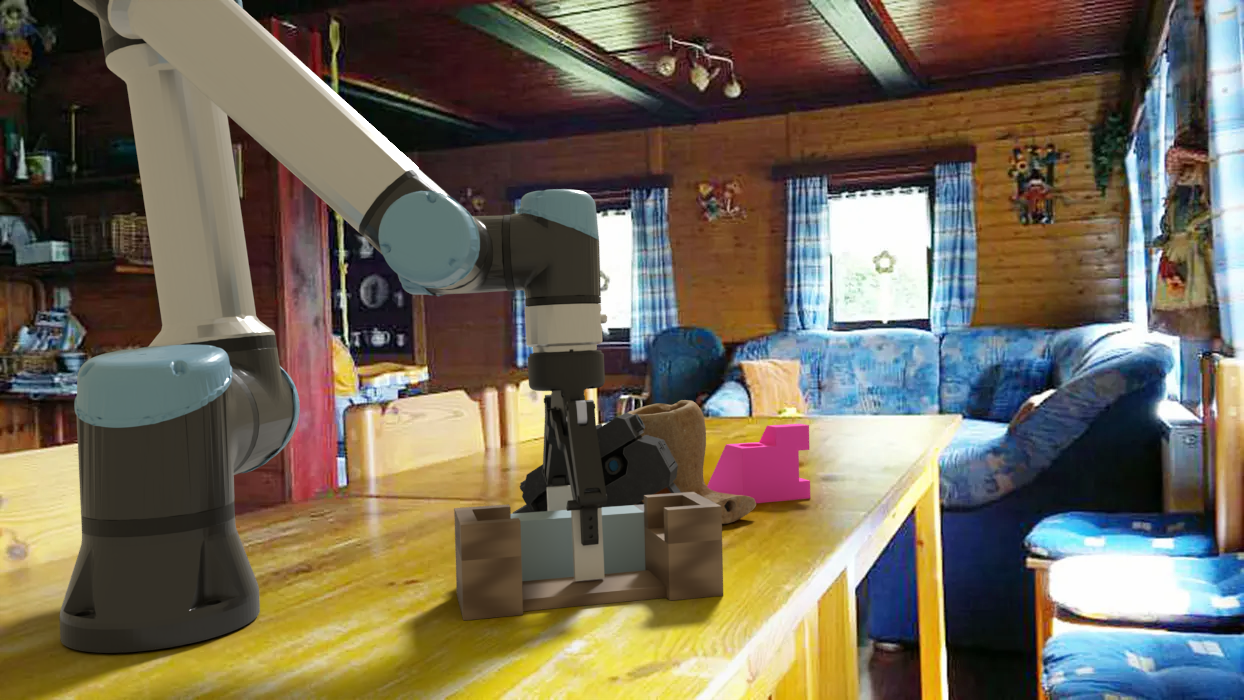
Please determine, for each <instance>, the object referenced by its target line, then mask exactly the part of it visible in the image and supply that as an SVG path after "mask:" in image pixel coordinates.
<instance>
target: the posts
mask: <svg viewBox="0 0 1244 700" xmlns="http://www.w3.org/2000/svg"><path fill="white" fill-rule="evenodd" d="M511 508H512V507H511V506H510V504H499V505H498V504H495V505H483V506H468V507H467V506H466V507H454V509H453V511H454V539H455V541H454V542H455V543H454V544H455V546H454V547H455V551H454V552H455V579H456V581H455V583H456V584H455V585H456V598H457V601H458V606H459V608H460V613H461V617H462V620H463V621H471V620H481V619H493V618H501V617H513V616H523V614H524V612H527V611H528V612H529V611H539V610H540V611H541V610H549V609H550V610H551V609H559V608H561V609H562V608H569V607H570V608H571V607H579V606H580V607H581V606H590V605H591V606H592V605H600V604H601V605H603V604H610V603H611V604H613V603H622V602H623V603H625V602H631V601H632V602H634V601H643V600H655V599H665V598H666V599H667V600H669V601H679V600H689V599H699V598H708V597H709V598H710V597H718V596H719V597H720V596H724V570H723V569H724V563H723V560H724V559H723V524H722V512H721V506H720V505H718V504H716V503H714V502H712V501H710V500H708V499H706V498H704V497H702V496H700V495H698V494H697V493H695V492H684V493H669V494H655V495H644V523H645V564H646V570H644V571H633V572H621V573H610V574H604V576H605V578H600V579H590V580H581V581H575V580H574V577H565V578H553V579H542V580H530V581H522V561H521V524H520V520H519V518H512V519H511V514H512V512H511V511H512V510H511Z"/></svg>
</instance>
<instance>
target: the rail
mask: <svg viewBox="0 0 1244 700" xmlns="http://www.w3.org/2000/svg"><path fill="white" fill-rule="evenodd" d="M512 518H519V520H520V524H521V561H522V581H530V580H542V579H553V578H565V577H574V565H573V542H572V519H571V511H567V510H558V511H544V512H530V513H515V514H512V513H511V519H512ZM602 530H603V553H604V574H610V573H621V572H633V571H644V570H646V564H645V523H644V504H643V505H629V506H614V507H602Z"/></svg>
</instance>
